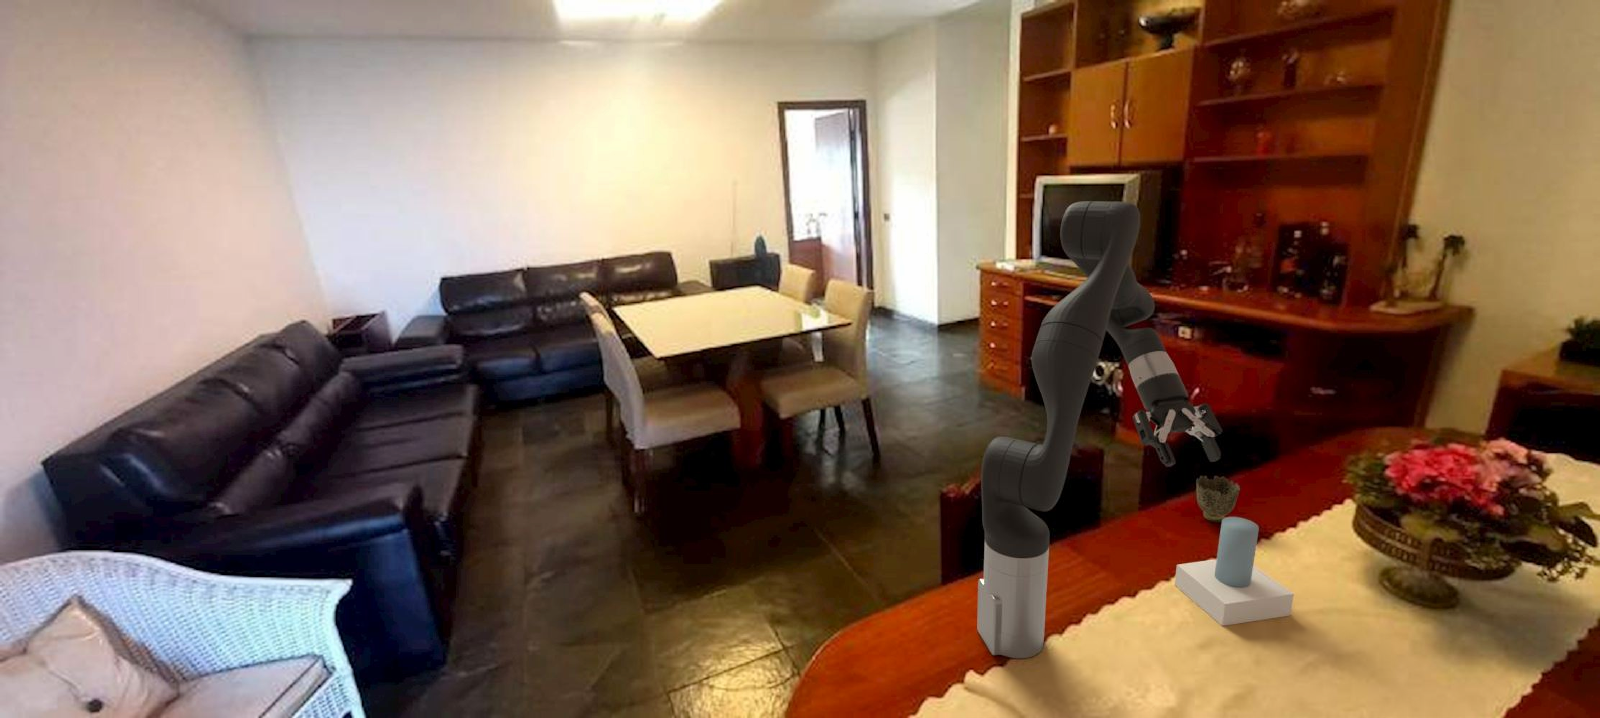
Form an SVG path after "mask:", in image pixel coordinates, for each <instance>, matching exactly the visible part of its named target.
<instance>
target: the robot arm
mask: <svg viewBox="0 0 1600 718" xmlns="http://www.w3.org/2000/svg"><path fill="white" fill-rule="evenodd" d="M1140 228H1141V212H1140V210H1139V208H1138V207H1137V205H1136V204H1134V203H1131V202H1125V201H1102V200H1101V201H1095V200H1094V201H1093V200H1092V201H1091V200H1089V201H1076V202H1073V203H1071V204H1070V205H1069V206H1067V208H1066V210H1065V212H1064V213H1063V216H1062V219H1061V224H1060V230H1059V231H1060V232H1059V233H1060V234H1059V237H1060V243H1061V247H1062V249H1063V251H1064V253H1065V254H1066V256H1067V257H1068V258H1069V259H1070V260H1071V261H1072V262H1073V263H1074V265H1076V267H1077V268H1078V269H1080V271H1081V272H1082V273H1083V274H1084V275H1085V276H1086V277H1087V278H1086V279H1085V280H1084V281H1083V282H1081V284H1080V285H1079V286H1077V287H1076V288H1075V289H1074V290H1072V291H1071V292H1070V293H1069V294H1067V296H1065V297H1064V298H1062V299H1061V300H1060V301H1059V302H1058V303H1057V304H1056V305H1054V306H1053V307H1052V308H1051V309H1050V310H1049V311H1048V313H1047V314H1046V315H1045V317H1043V320H1042V322H1041V323H1040V324H1041V325H1040V327H1039V329H1038V330H1039V331H1038V333H1037V336H1036V340H1035V342H1034V346H1033V348H1032V352H1031V366H1032V371H1033V373H1034V378H1035V380H1036V383H1037V385H1038V388H1039V391H1040V393H1041V397H1042V400H1043V403H1044V409H1045V412H1046V418H1047V420H1046V421H1047V422H1046V423H1047V424H1046V432H1045V436H1044V440H1043V443H1041V444H1040V443H1035V442H1032V441H1027V440H1021V439H1017V438H1013V437H1010V436H1009V437H1008V436H997V437H995V438H994V439H992V440H991V441H990V442H989V443H988V445H987V447H986V449H985V451H984V454H983V458H982V463H981V470H980V471H981V472H980V473H981V474H980V479H981V480H980V486H981V489H980V490H981V508H982V509H981V513H982V514H981V516H982V517H981V519H982V527H983V530H984V551H983V552H984V553H983V554H984V555H983V557H984V558H983V578H979V579H978V581H977V583H978V584H977V622H976V623H977V625H976V626H977V627H976V628H977V630H976V631H977V632H978V633H979V635H980V637H981V639H982V640H983V642H984V643H985V645H986V647H987V648H988V650H989V652H990V653H991V655H992V656H997V655H999V656H1000V655H1001V656H1003V657H1008V658H1012V659H1027V658H1031V657H1032V658H1033V657H1034V656H1036V655H1038V654H1039V653H1040V652H1041V651H1042V649H1043V647H1044V639H1045V623H1046V605H1047V604H1046V603H1047V590H1048V589H1047V588H1048V585H1047V584H1048V571H1049V570H1048V569H1049V553H1050V552H1049V551H1050V529H1049V527H1048V525H1047V524H1046V522H1045V521H1044V520H1043V519H1042V518H1040V517H1039V516H1038V515H1036V514H1035V513H1034V512H1032V511H1031V510H1030V509H1032V510H1035V511H1038V512H1048V511H1051V510H1052V509H1053V508H1054V507H1055V506H1056V504H1057V503H1058V501H1059V500H1060V497H1061V494H1062V491H1063V488H1064V485H1065V481H1066V477H1067V474H1068V468H1069V465H1070V460H1071V455H1072V451H1073V446H1074V441H1075V436H1076V432H1077V428H1078V423H1079V420H1080V415H1081V412H1082V408H1083V405H1084V402H1085V398H1086V396H1087V392H1088V390H1089V386H1090V384H1091V380H1092V377H1093V375H1094V371H1095V370H1096V366H1097V364H1098V360H1099V356H1100V353H1101V350H1102V347H1103V344H1104V338H1105V335H1106V332H1107V333H1108V334H1109V335H1110V336H1111V337H1112V338H1113V340H1114V341H1115V342H1116V344H1117V346H1118V348H1120V351H1121V353H1122V355H1123V357H1124V360H1125V362H1126V364H1127V367H1128V370H1129V373H1130V377H1131V380H1132V381H1133V385H1134V387H1135V389H1136V391H1137V394H1138V396H1139V398H1140V400H1141V402H1142V405H1143V407H1144V409H1139V410H1138V412H1136V413H1134V414H1133V415H1132V420H1133V422H1134V426H1135V428H1136V431H1137V434H1138V436H1139V440H1140V443H1141V444H1142V445H1143V446H1151V447H1153V448H1154V449H1155V450H1156V453H1157V455H1158V457H1159V460H1160V462H1161V463H1162V464H1163V465H1164V466H1165V467H1167V468H1168V467H1172V466H1173V465H1175V464H1176V463H1177V461H1176V458H1175V457H1174V453H1173V452H1172V449H1171V447H1170V445H1169V443H1168V442H1166V441H1167V439H1168V434H1169V435H1170V434H1175V433H1187V434H1189V435H1190V436H1193V437H1195V438H1197V439H1198V440H1199V441H1201V446H1202V448H1203V450H1204V452H1205V454H1206V457H1207V459H1208V461H1210V463H1212V462H1213V463H1214V462H1216V461H1219V460H1220V459H1221V456H1222V452H1221V450H1220V447H1219V446H1218V443H1217V442H1216V436H1218V435H1220V434H1222V433H1223V428H1222V426H1221V425H1220V423H1219V421H1218V419H1217V418H1216V416H1215V414H1214V412H1213V411H1212V409H1211V407H1210V405H1209V404H1208V403H1207V402H1203V403H1202V404H1199V405H1197V406H1193V405H1192V404H1191V403H1190V401H1189V394H1188V391H1187V389H1186V387H1185V385H1184V383H1183V381H1182V377H1181V376H1180V374H1179V373H1178V371H1177V368H1176V366H1175V363H1174V362H1173V361H1172V359H1171V358H1170V356H1169V354H1168V353H1167V351H1166V349H1165V346H1164V344H1163V342H1162V340H1161V337H1160V335H1159V334H1158V332H1157V331H1156V329H1153V328H1152V327H1139V328H1132V329H1129V328H1126V327H1128V326H1131V325H1133V324H1137V323H1139V322H1142V321H1146V320H1147V319H1149V318H1150V317H1151V316H1152V315H1153V314H1154V311H1155V307H1156V306H1155V300H1154V298H1153V295H1151V293H1150V292H1149V290H1147V288H1145V287H1144V285H1142V284H1141V283H1139V282H1138V281H1137V278H1136V274H1135V272H1134V270H1133V268H1132V267H1131V266H1130V264H1129V261H1130V260H1131V256H1132V254H1133V252H1134V249H1135V247H1136V243H1137V240H1138V236H1139V233H1140ZM1145 410H1146V411H1145ZM1150 421H1151V422H1152V423H1153V424H1155V428H1154V431H1153V428H1152V426H1151V423H1150ZM1193 425H1194V426H1193Z"/></svg>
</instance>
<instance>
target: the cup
mask: <svg viewBox="0 0 1600 718" xmlns="http://www.w3.org/2000/svg"><path fill="white" fill-rule="evenodd" d="M1195 481H1196V501H1197V505H1198V507H1199V508H1200V510H1202V511H1203V513H1202V514H1203V517H1204V518H1205V519H1206V520H1207V521H1210V522H1214V523H1220V522H1221V523H1222V519H1224V518H1226V517H1225V516H1226V515H1229V514H1230V513H1232V511H1233V510H1234V508H1235V506H1236V503H1237V499H1238V497H1239V493H1240V491H1241V487H1240V485H1239V483H1235V482H1234V480H1230V481H1229V479H1227V478H1226V477H1225V476H1222V477H1219V476H1217V475H1215V476H1214V477H1213V478H1208V476H1207V475H1200V476H1199V478H1198V477H1197V478H1196V480H1195Z"/></svg>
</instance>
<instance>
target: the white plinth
mask: <svg viewBox="0 0 1600 718" xmlns="http://www.w3.org/2000/svg"><path fill="white" fill-rule="evenodd" d="M1216 561H1217V558H1216V559H1207V560H1202V561H1193V562H1186V563H1181V564H1176V570H1175V579H1174V586H1175V587H1176V588H1178V589H1179V590H1180V591H1181V592H1182V593H1183V594H1185V596H1187V597H1188V598H1189V599H1190V600H1192V602H1194V603H1195V604H1196V606H1197V605H1198V607H1199V608H1201V610H1203V611H1204V612H1206V614H1208V615H1209V616H1210V617H1211V618H1212V619H1213V620H1214V621H1216V622H1217V623H1218V624H1219V625H1221V626H1222V627H1224V626H1230V625H1236V624H1237V625H1238V624H1243V623H1250V622H1258V621H1263V620H1268V619H1276V618H1281V617H1283V618H1284V617H1289V616H1291V614H1292V609H1293V602H1294V596H1295V593H1294V592H1292V591H1291V590H1289V589H1288V588H1286V587H1285V586H1284V585H1282V584H1281V583H1279V582H1278V581H1276V580H1275V579H1274V578H1272V577H1271V576H1269V575H1268V574H1266V573H1265V572H1264V571H1262V570H1261V569H1260V568H1258V567H1257V566H1255V565H1254V564H1253V570H1252V577H1251V584H1250V585H1249V586H1248V587H1245V588H1236V587H1231V586H1228V585H1225V584H1223V583H1221V582H1220V581H1218V580H1217V579H1216V577H1215V568H1216Z"/></svg>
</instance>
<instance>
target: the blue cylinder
mask: <svg viewBox="0 0 1600 718" xmlns="http://www.w3.org/2000/svg"><path fill="white" fill-rule="evenodd" d="M1259 531H1260V527H1259V525H1258V524H1257V523H1255V522H1254V521H1252V520H1249V519H1246V518H1243V517H1240V516H1239V517H1238V516H1228V517H1225V518H1224V519H1222V521H1221V524H1220V533H1219V540H1218V546H1217V554H1216V559H1217V561H1216V568H1215V577H1216V579H1217V580H1218V581H1220V582H1221V583H1223V584H1225V585H1228V586H1231V587H1236V588H1245V587H1248V586H1249V585H1250V584H1251V577H1252V570H1253V565H1254V563H1255V562H1254V561H1255V557H1256V550H1257V543H1258V537H1259Z"/></svg>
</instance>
